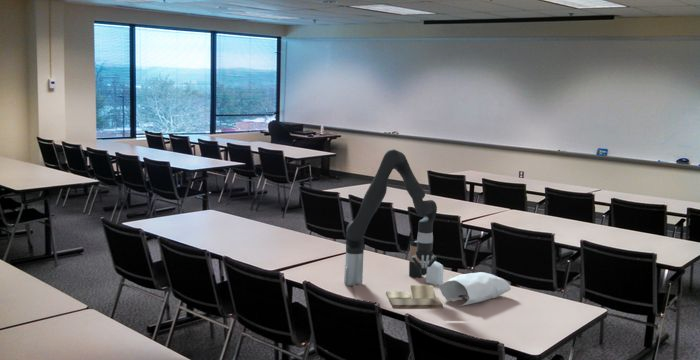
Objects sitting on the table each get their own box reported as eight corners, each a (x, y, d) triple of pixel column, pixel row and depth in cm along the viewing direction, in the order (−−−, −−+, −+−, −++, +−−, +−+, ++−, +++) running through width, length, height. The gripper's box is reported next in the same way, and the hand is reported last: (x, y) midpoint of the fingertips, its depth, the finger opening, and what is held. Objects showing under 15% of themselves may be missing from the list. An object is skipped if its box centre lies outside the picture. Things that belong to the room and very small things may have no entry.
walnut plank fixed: (392, 307, 298) (392, 304, 297) (389, 301, 306) (389, 298, 306) (442, 307, 300) (442, 304, 300) (438, 301, 309) (438, 298, 309)
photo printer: (424, 282, 341) (425, 259, 339) (429, 280, 344) (430, 258, 342) (438, 287, 333) (439, 264, 332) (443, 286, 336) (445, 263, 334)
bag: (516, 293, 318) (477, 291, 294) (489, 313, 328) (448, 314, 303) (498, 261, 328) (458, 257, 304) (471, 282, 338) (431, 280, 313)
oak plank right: (413, 300, 308) (413, 298, 308) (410, 287, 316) (410, 285, 315) (435, 300, 310) (436, 298, 309) (432, 287, 317) (432, 285, 316)
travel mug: (423, 275, 354) (425, 240, 351) (420, 278, 347) (422, 243, 344) (410, 273, 356) (412, 238, 353) (407, 277, 349) (408, 241, 346)
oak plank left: (388, 300, 307) (389, 297, 307) (386, 294, 316) (386, 291, 316) (411, 300, 308) (411, 297, 308) (407, 294, 317) (407, 291, 317)
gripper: (413, 242, 307) (411, 277, 310) (440, 242, 309) (438, 277, 311) (410, 238, 314) (408, 272, 317) (436, 238, 316) (434, 272, 319)
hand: (423, 274), depth 314 cm, fingers closed
